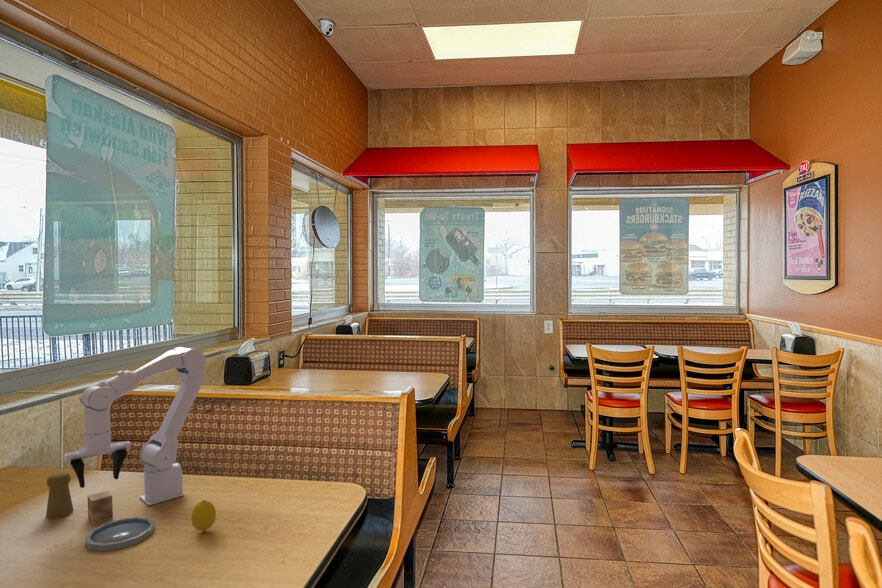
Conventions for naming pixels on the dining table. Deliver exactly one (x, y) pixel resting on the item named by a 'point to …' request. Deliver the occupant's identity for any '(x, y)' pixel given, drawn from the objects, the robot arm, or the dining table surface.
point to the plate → (119, 533)
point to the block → (100, 506)
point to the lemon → (203, 515)
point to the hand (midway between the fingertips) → (99, 482)
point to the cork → (59, 495)
